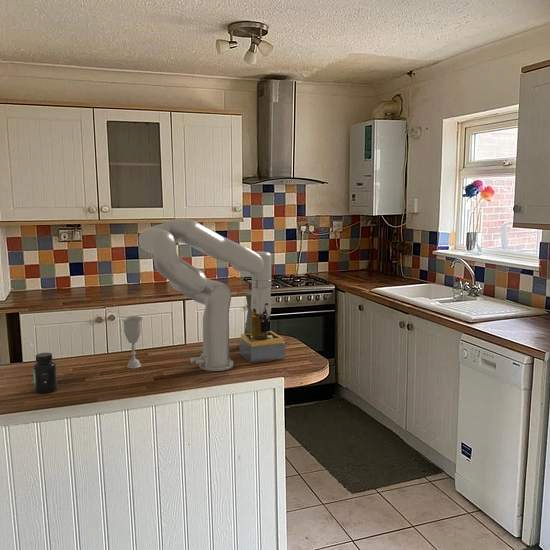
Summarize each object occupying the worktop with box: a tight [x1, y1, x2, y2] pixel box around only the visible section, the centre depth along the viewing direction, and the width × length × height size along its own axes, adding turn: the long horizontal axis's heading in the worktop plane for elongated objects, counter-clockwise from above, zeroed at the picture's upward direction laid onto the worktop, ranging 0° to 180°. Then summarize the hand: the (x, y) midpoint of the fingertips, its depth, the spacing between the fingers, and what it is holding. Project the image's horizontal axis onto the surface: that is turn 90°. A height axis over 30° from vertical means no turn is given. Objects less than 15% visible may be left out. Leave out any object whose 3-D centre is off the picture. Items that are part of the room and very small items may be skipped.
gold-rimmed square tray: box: [238, 330, 287, 364], centre depth 210 cm, size 16×13×8 cm
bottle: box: [243, 280, 253, 334], centre depth 222 cm, size 9×9×28 cm
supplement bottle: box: [32, 352, 58, 395], centre depth 173 cm, size 7×7×12 cm
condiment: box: [251, 309, 273, 341], centre depth 208 cm, size 7×8×12 cm
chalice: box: [121, 315, 143, 369], centre depth 197 cm, size 7×7×18 cm
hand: (261, 329), depth 209 cm, fingers closed on condiment, 6 cm apart
